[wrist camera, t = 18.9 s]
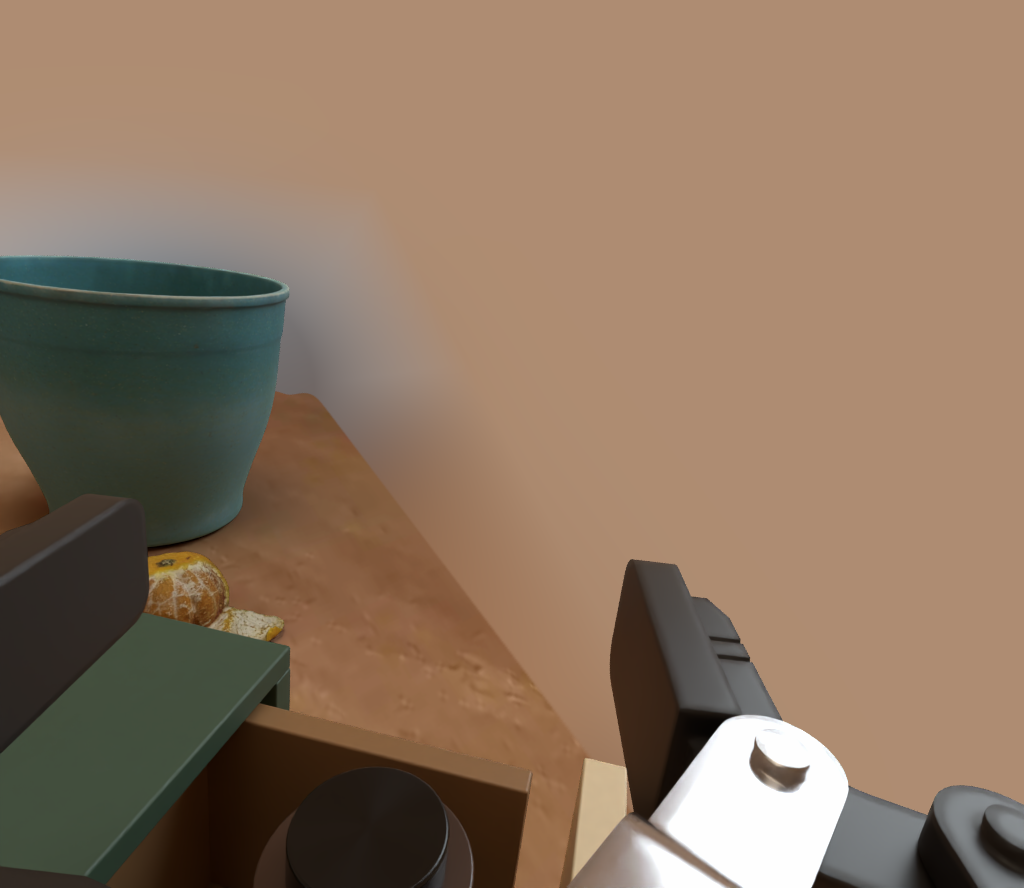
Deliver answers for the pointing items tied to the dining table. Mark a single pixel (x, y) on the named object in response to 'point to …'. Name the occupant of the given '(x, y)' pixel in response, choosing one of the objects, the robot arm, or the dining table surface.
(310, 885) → the pepper mill
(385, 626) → the dining table surface
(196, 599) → the fruit
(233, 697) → the cabinet
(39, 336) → the flower pot
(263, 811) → the drawer
